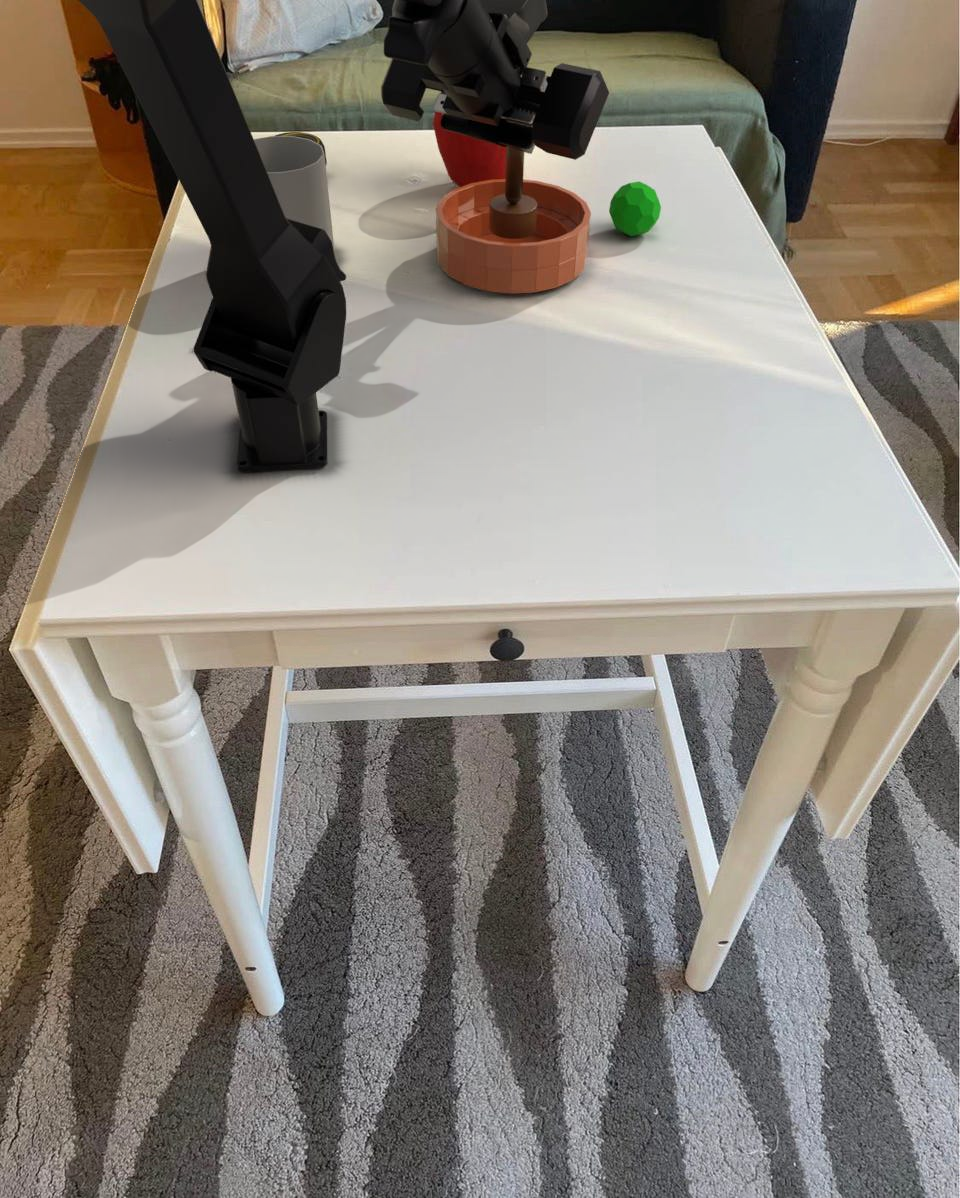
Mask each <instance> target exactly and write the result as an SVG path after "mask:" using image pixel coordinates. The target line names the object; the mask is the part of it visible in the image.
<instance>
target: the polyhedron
mask: <svg viewBox="0 0 960 1198" xmlns="http://www.w3.org/2000/svg"><path fill="white" fill-rule="evenodd" d="M661 209H662V206H661V202H660V200H659V196H658V194H657V192H656V190H655V189H654V188H652V187H651V186H649V185H648V184H646V183H644V182H642V181H633V182H629V183H626V184H623V185H621V186H620V187H619V188H618V190H617V191H616V192H615V193H614V194H613V196H612V198H611V200H610V203H609V209H608V212H609V216H610V218H611V220H612V223H613V226H614V228H615V229H616V230H618V231H619V232H621V233H623V234H624V235H627V236H629V237H636V236H641V235H643V234H646V233H649V232H650V231H651V229H652V228H653V227H654V226H655V225H656V224H657V222H658V220H659V219H660V214H661Z"/></svg>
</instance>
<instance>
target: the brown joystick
mask: <svg viewBox="0 0 960 1198" xmlns="http://www.w3.org/2000/svg"><path fill="white" fill-rule="evenodd" d="M524 165H525V152H523V151H520V150H517V149H515V148H512V147H509V146H506V178H505V194H502V195H498V196H496V197H494V198H492V199H491V201H490V204H489V229H490V231H491V232H492V233H493V234H494V235H496V236H499V237H502V238H508V239H520V238H525V237H528V236H530V235H532V234H533V233H534V232H535V230H536V219H537V202H536V200H534V199H533V198H532V197H529V196H527V195H523V180H524V171H525V166H524Z"/></svg>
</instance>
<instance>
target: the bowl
mask: <svg viewBox="0 0 960 1198" xmlns="http://www.w3.org/2000/svg"><path fill="white" fill-rule="evenodd" d="M502 194H505V179H495V180H487V181H481V182H475V183H470V184H468V185H465V186H462V187H457V188H454V189H452V190H450V191H449V192H448V193H446V195H443V196H442V197H441V199H440V200H439V202H438V204H437V206H436V207H435V225H436V226H435V228H436V256H437V257H436V258H437V263H438V266H439V267H440V269H442V270H443V271H444V273H445V274H446V275H447V276H449V277H450V278H451V279H453V280H455V281H457V282H459V283H461V284H462V285H464V286H468V287H470V288H475V289H479V290H480V291H481V290H482V291H485V292H492V293H501V294H531V293H538V292H543V291H548V290H552V289H555V288H559V287H561V286H563V285H565V284H567V283H569V282H572V281H574V280H575V279H576V278H577V277H578V276H579V275H580V274H581V273H582V272H583V271H584V270H585V267H586V263H587V259H588V250H589V249H588V248H589V239H590V228H591V221H592V219H591V218H592V212H591V209H590V207H589V205H588V202H586V201H585V200H584V199H583V198H581V197H580V196H579V195H578V194H576V193H575V192H574V191H571V190H568V189H566V188H564V187H562V186H559V185H556V184H552V183H548V182H543V181H541V180H539V181H538V180H532V179H523V195H527V196H529V197H532V198H533V199H534V200H536V202H537V219H536V230H535V232H534V233H533V234H532V235H530V236H528V237H525V238H520V239H508V238H502V237H499V236H496V235H494V234H493V233H492V232H491V231H490V229H489V204H490V201H491V199H492V198H494V197H496V196H498V195H502Z"/></svg>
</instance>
